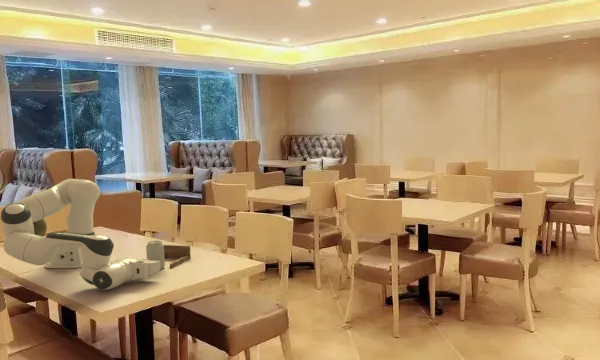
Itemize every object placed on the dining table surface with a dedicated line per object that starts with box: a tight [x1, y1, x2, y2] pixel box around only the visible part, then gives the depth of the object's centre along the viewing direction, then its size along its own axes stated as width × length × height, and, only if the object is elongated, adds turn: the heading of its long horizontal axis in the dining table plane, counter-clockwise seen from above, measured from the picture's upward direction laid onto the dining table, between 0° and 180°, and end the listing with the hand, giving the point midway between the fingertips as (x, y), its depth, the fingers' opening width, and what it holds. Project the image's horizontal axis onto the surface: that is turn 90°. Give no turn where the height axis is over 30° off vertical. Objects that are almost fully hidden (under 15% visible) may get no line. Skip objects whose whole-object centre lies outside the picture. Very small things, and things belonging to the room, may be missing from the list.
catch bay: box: [164, 244, 192, 269], centre depth 234 cm, size 17×13×6 cm
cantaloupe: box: [33, 218, 48, 236], centre depth 288 cm, size 14×14×15 cm
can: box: [145, 240, 166, 270], centre depth 223 cm, size 8×8×12 cm
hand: (145, 260), depth 215 cm, fingers closed
